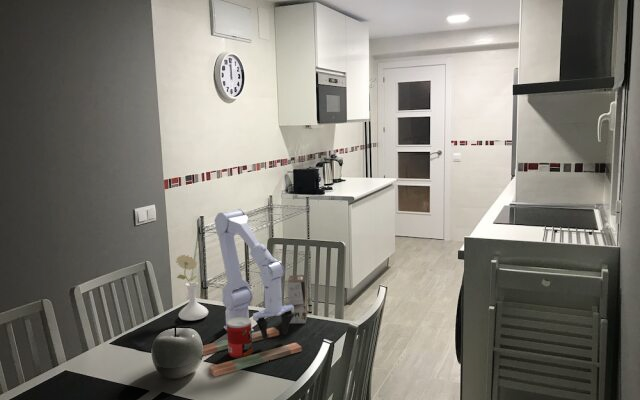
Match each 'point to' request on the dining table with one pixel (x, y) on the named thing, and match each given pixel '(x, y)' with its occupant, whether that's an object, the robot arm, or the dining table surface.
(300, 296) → the coffee box
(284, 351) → the orange green bars
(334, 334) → the dining table surface
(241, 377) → the dining table surface
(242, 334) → the canned food
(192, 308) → the flower in vase
